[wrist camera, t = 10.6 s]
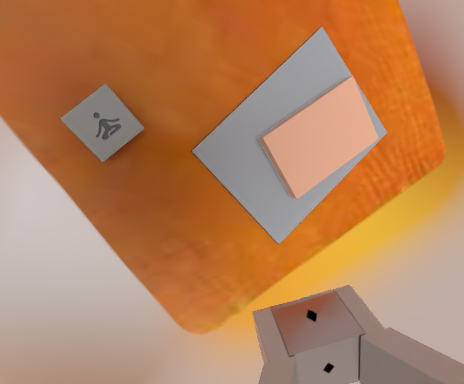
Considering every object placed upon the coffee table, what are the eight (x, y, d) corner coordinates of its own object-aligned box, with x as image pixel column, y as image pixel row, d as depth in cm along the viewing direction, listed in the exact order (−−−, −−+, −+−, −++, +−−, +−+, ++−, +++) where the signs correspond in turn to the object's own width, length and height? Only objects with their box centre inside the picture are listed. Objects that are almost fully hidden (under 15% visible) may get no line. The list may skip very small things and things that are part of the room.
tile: (296, 199, 37) (378, 138, 39) (262, 137, 35) (353, 75, 37) (290, 196, 39) (368, 138, 41) (257, 137, 36) (343, 78, 38)
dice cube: (107, 158, 32) (102, 162, 27) (71, 121, 30) (59, 118, 26) (143, 129, 33) (144, 128, 28) (110, 91, 31) (105, 83, 26)
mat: (191, 150, 35) (191, 151, 34) (320, 27, 37) (322, 26, 36) (277, 243, 40) (278, 244, 40) (384, 132, 42) (387, 132, 42)
